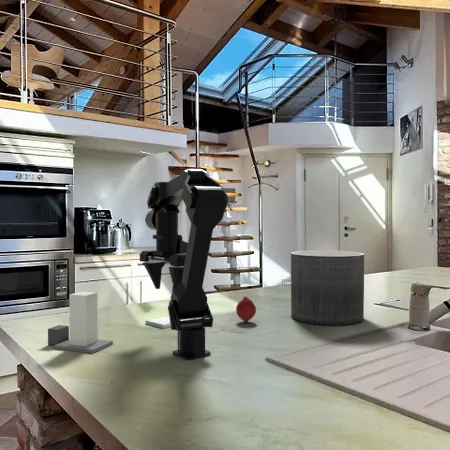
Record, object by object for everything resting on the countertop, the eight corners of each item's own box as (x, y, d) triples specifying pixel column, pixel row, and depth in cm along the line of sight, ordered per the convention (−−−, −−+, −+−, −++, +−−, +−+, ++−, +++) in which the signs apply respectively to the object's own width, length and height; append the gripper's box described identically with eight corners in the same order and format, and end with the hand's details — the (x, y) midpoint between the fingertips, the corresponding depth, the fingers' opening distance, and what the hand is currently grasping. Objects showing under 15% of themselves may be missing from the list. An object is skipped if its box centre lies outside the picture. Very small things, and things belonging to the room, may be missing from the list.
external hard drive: (145, 325, 133) (177, 318, 142) (163, 330, 127) (195, 322, 136) (145, 320, 133) (177, 313, 142) (163, 324, 127) (195, 317, 136)
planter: (306, 328, 128) (306, 257, 127) (281, 312, 149) (281, 251, 149) (378, 324, 132) (378, 255, 132) (343, 309, 154) (343, 250, 153)
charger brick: (97, 341, 111) (97, 292, 111) (86, 346, 107) (85, 295, 107) (81, 339, 113) (81, 291, 112) (69, 344, 108) (69, 294, 108)
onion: (259, 322, 135) (259, 295, 135) (247, 325, 131) (247, 297, 131) (244, 319, 139) (244, 293, 139) (232, 322, 135) (232, 295, 135)
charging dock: (112, 344, 112) (112, 327, 112) (93, 353, 104) (93, 335, 104) (64, 338, 116) (64, 323, 116) (42, 347, 109) (42, 330, 109)
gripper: (214, 231, 116) (214, 292, 116) (172, 229, 130) (173, 284, 130) (177, 232, 108) (178, 297, 109) (138, 230, 123) (138, 288, 123)
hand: (167, 291), depth 118 cm, fingers open, 9 cm apart
